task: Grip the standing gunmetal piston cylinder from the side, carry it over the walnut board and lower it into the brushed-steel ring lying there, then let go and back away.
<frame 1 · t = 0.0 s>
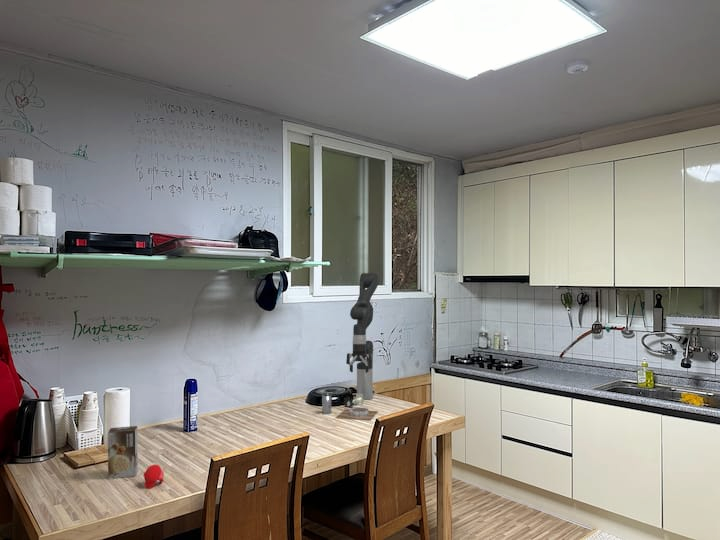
hand: (359, 372, 281), 17 cm above the table, tool pointing down, fingers open, 8 cm apart
valve: (355, 407, 273), on the table
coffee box: (123, 475, 179), on the table
board: (357, 416, 254), on the table
piston: (326, 414, 258), on the table
ring: (359, 414, 253), resting on board
cap: (153, 485, 170), on the table
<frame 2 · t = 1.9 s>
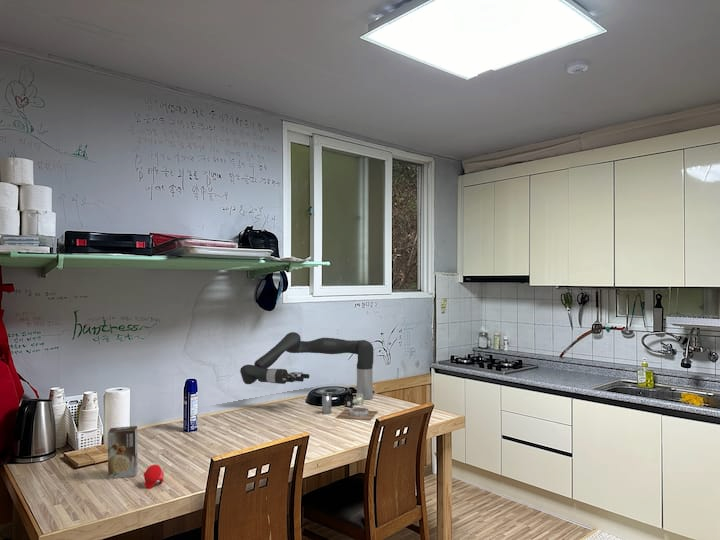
hand: (306, 377, 261), 18 cm above the table, tool horizontal, fingers open, 8 cm apart
nothing on the table moved.
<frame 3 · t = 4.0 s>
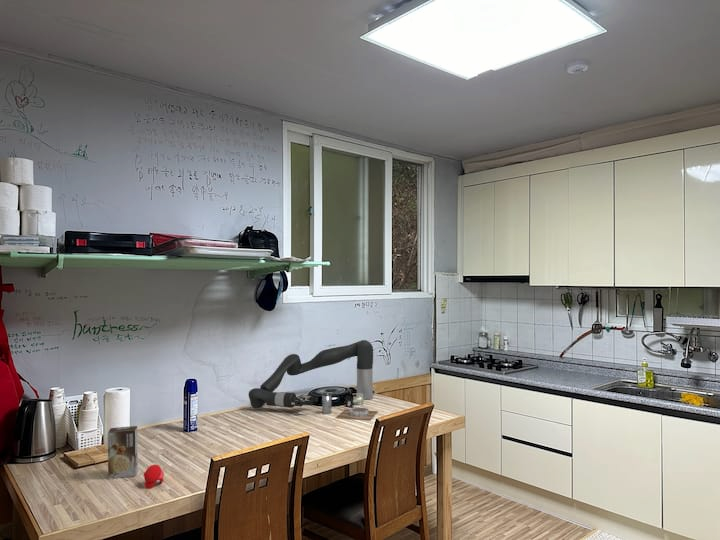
hand: (314, 401, 259), 6 cm above the table, tool horizontal, fingers open, 8 cm apart
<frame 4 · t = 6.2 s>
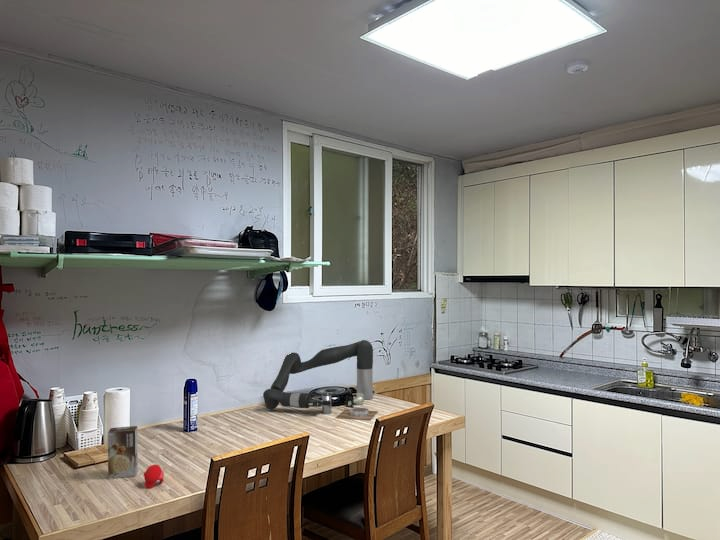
hand: (331, 402, 257), 7 cm above the table, tool horizontal, fingers closed on piston, 4 cm apart
piston: (326, 414, 258), on the table, touching gripper
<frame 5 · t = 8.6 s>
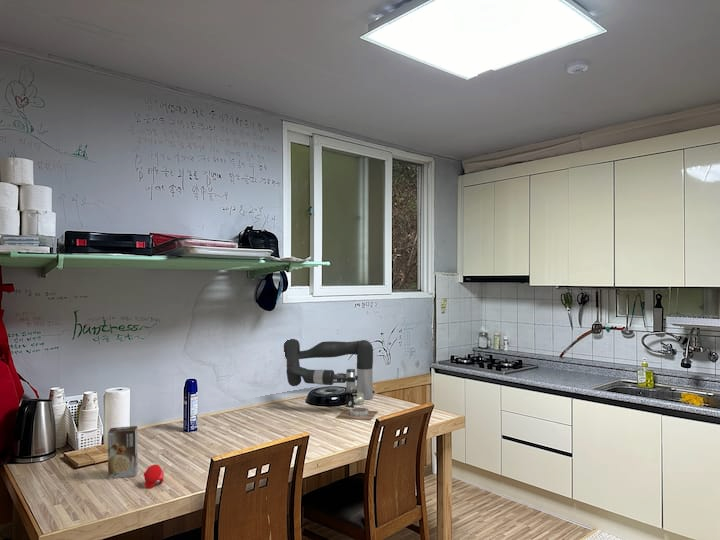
hand: (356, 378, 254), 19 cm above the table, tool horizontal, fingers closed on piston, 4 cm apart
piston: (350, 391, 255), point 12 cm above the table, touching gripper
when the fingers open (9 cm above the table, at t = 11.3 s): piston drops 1 cm, resting on board.
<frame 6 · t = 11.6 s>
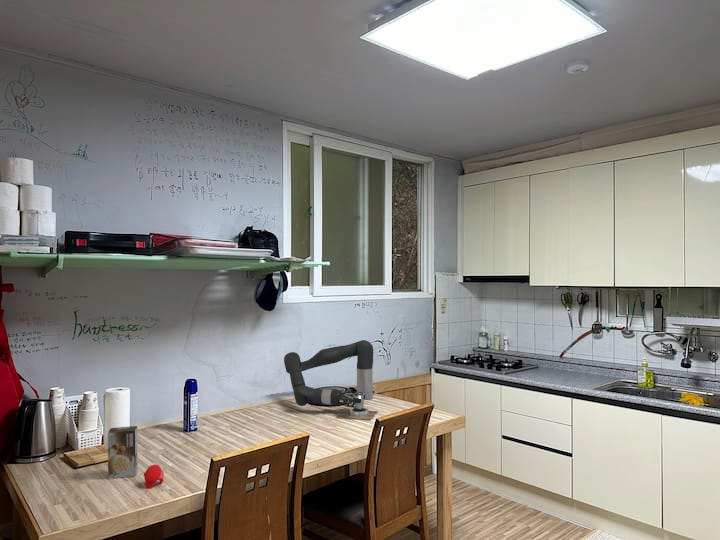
hand: (363, 398, 253), 9 cm above the table, tool horizontal, fingers open, 7 cm apart
piston: (358, 414, 253), point 1 cm above the table, touching board
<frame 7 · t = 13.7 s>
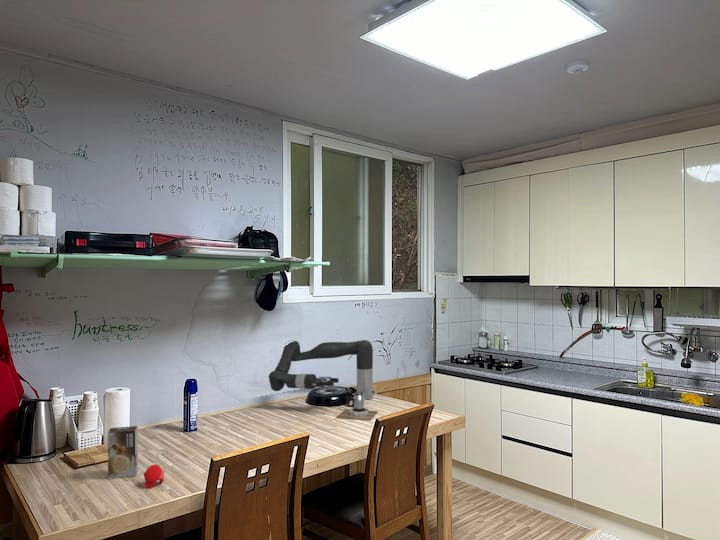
hand: (335, 382, 258), 16 cm above the table, tool horizontal, fingers open, 8 cm apart
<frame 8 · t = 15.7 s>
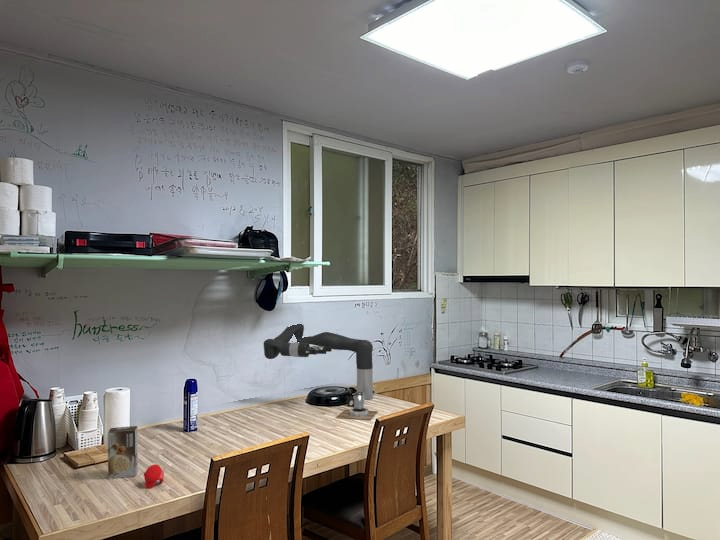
hand: (328, 350, 262), 32 cm above the table, tool horizontal, fingers open, 8 cm apart
at the end: piston 0.1 cm off-centre on the ring, point 0.0 cm above the ring's base; piston tilted 0°; the gripper is holding nothing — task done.
